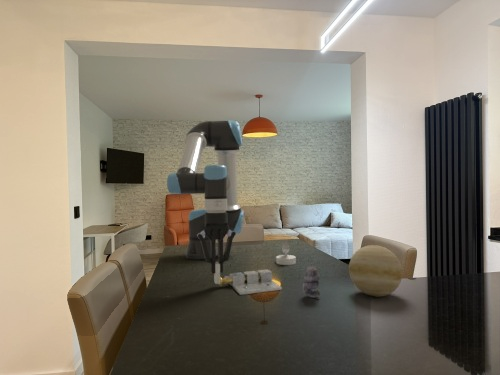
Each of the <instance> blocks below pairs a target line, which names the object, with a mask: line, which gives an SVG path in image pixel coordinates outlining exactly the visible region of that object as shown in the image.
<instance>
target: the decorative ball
mask: <svg viewBox="0 0 500 375" xmlns="http://www.w3.org/2000/svg"><path fill="white" fill-rule="evenodd" d="M348 272H349V277H350V279H351V281H352V283H353V285H354V286H355V287H356V289H358V290H359V291H360V292H362V293H363V294H365V295H368V296H370V297H371V296H372V297H386V296H388V295H391V294H392V293H393V292H395V291H396V290H397V289H398V288H399V287H400V284H401V282H402V278H403V268H402V264H401V262H400V259H399V258H398V256H396V254H395V253H394V252H392V250H390V249H388V248H387V247H384V246H381V245H376V244H370V245H366V246H363V247H360V248H359V249H357V251H355V252H354V253H353V254H352V256H351V258H350V261H349V264H348Z"/></svg>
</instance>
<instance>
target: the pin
mask: <svg viewBox="0 0 500 375" xmlns="http://www.w3.org/2000/svg"><path fill="white" fill-rule="evenodd" d="M258 280H261V276H260V274H259V275H258ZM246 281H247V276H244V282H246ZM229 283H232V278H224V277H222V276H220V284H218V286H219V287H222V286H223V285H226V284H227V285H228V284H229Z"/></svg>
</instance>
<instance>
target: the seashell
mask: <svg viewBox="0 0 500 375" xmlns="http://www.w3.org/2000/svg"><path fill="white" fill-rule="evenodd" d="M319 272H320V271H318V269H317V268H316V267H315V266H314V265H313V264H310V265H309V266H306V267H305V270H304V273H305V274H304V275H303V280H304V282H303V284H302V292H303V293H304V294H305V296H307V297H309V298H318V297H321V291H320V290H319V289H317V288H318V287H319V285H320V281H319V280H320V279H321V278H320V273H319ZM315 289H316V290H315Z"/></svg>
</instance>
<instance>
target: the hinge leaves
mask: <svg viewBox="0 0 500 375" xmlns="http://www.w3.org/2000/svg"><path fill="white" fill-rule="evenodd" d="M259 274H260V276H261V280H258V275H259ZM223 276H224V277H223V278H232V283H228V284H229V285H230V286H231V288H233V290H235V291H236V292H237V293H238V294H239V296H242V295H244V296H245V295H250V294H259V293H266V292H272V291H273V292H274V291H281V290H282V286H281V285H279V284H277V283H276V282H275V281H273V272H272V271H271V270H270V269H260V270H250V271H247V270H246V271H243V272H241V271H240V272H238V271H237V272H231V273H229V275H223ZM244 276H247V281H246V282H244Z"/></svg>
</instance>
